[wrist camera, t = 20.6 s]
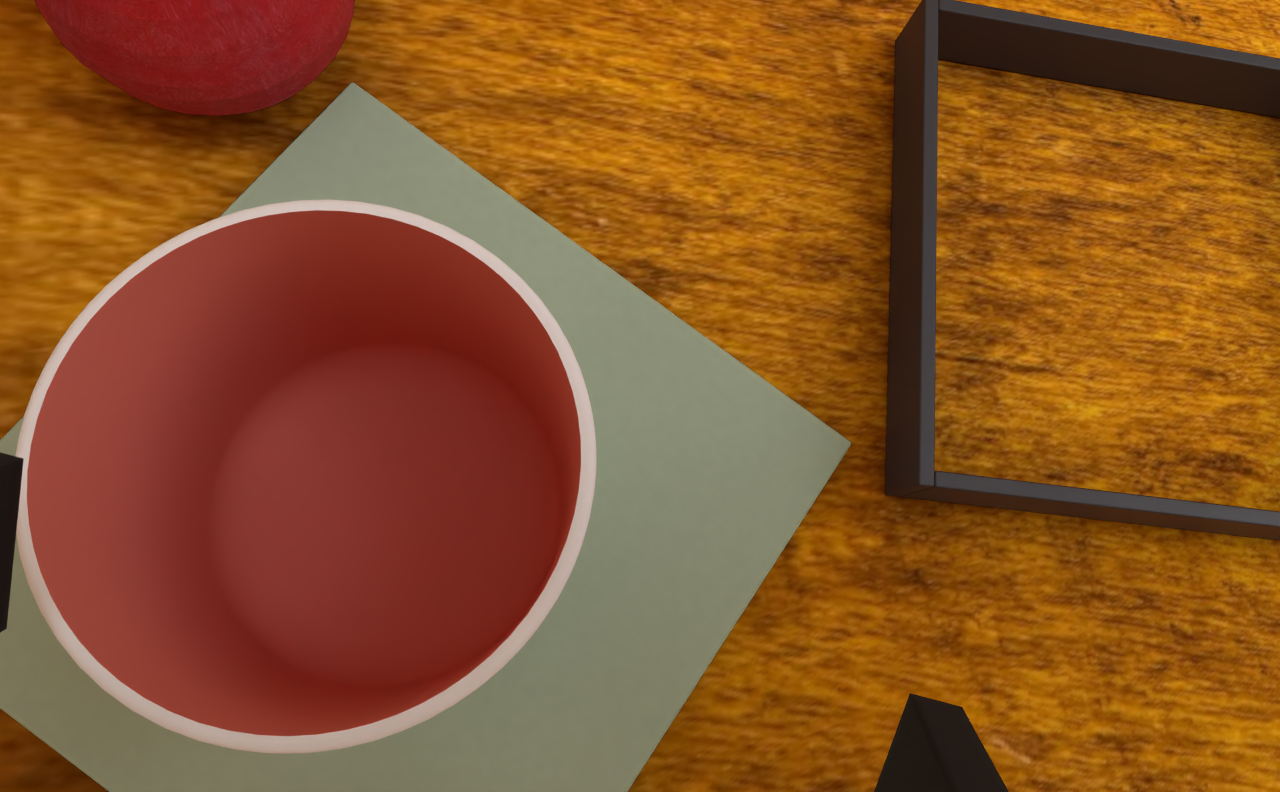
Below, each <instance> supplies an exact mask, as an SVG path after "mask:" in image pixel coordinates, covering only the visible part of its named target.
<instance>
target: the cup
mask: <svg viewBox="0 0 1280 792" xmlns="http://www.w3.org/2000/svg"><path fill="white" fill-rule="evenodd" d="M15 456H16V457H20V458H23V459H24V460H23V470H22V480H21V490H20V500H19V510H18V520H17V530H16V535H17V542H18V549H19V555H20V558H21V562H22V565H23V568H24V572H25V575H26V578H27V582H28V584H29V587H30V589H31V591H32V593H33V596H34V598H35V600H36V602H37V605H38V607H39V609H40V612H41V613H42V615H43V617H44V618H45V620H46V622H47V623H48V625H49V627H50V628H51V630H52V631H53V633H54V635H55V636H56V638H57V640H58V641H59V642H60V644H61V645H62V646H63V647H64V649H65V650H66V651H67V652H68V654H69V655H70V656H71V657H72V659H73V660H74V661H75V662H76V664H77V665H78V666H79V667H80V668H81V669H82V670H83V671H84V672H85V673H86V674H87V675H88V676H89V677H91V678H92V679H93V680H94V681H95V682H96V683H97V684H98V685H99V686H100V687H101V688H102V689H103V690H104V691H106V692H107V693H108V694H110V695H111V696H113V697H114V698H115V699H117V700H118V701H120V702H121V703H122V704H124V705H125V706H126V707H128V708H129V709H131V710H132V711H134V712H135V713H137V714H139V715H141V716H143V717H145V718H147V719H148V720H150V721H152V722H154V723H156V724H158V725H160V726H162V727H163V728H165V729H168V730H171V731H173V732H176V733H179V734H181V735H184V736H187V737H189V738H192V739H195V740H197V741H200V742H204V743H209V744H213V745H217V746H221V747H225V748H230V749H234V750H242V751H250V752H258V753H270V754H296V753H313V752H322V751H329V750H337V749H343V748H348V747H352V746H356V745H360V744H364V743H368V742H372V741H376V740H379V739H382V738H384V737H387V736H390V735H393V734H396V733H399V732H401V731H404V730H406V729H409V728H411V727H413V726H415V725H417V724H419V723H422V722H424V721H426V720H428V719H430V718H432V717H434V716H436V715H437V714H439V713H441V712H443V711H444V710H446V709H448V708H450V707H451V706H453V705H455V704H456V703H458V702H459V701H461V700H462V699H464V698H465V697H467V696H468V695H469V694H471V693H472V692H474V691H475V690H476V689H478V688H479V687H480V686H482V685H483V684H484V683H485V682H486V681H488V680H489V679H490V678H491V677H492V676H493V675H495V674H496V673H497V672H498V671H499V670H501V669H502V668H503V667H504V666H505V665H506V664H507V663H508V662H509V661H510V660H511V659H512V658H513V657H514V655H515V654H516V653H517V652H518V651H519V650H520V649H521V648H522V647H523V646H524V645H525V644H526V642H527V641H528V640H529V639H530V638H531V636H532V635H533V634H534V633H535V631H536V630H537V629H538V628H539V626H540V625H541V624H542V622H543V621H544V619H545V618H546V616H547V615H548V613H549V612H550V610H551V609H552V607H553V606H554V604H555V602H556V601H557V599H558V597H559V596H560V594H561V592H562V590H563V588H564V586H565V584H566V582H567V580H568V578H569V576H570V574H571V572H572V570H573V567H574V565H575V563H576V560H577V557H578V555H579V552H580V550H581V547H582V544H583V541H584V537H585V534H586V530H587V526H588V523H589V519H590V514H591V509H592V503H593V498H594V491H595V480H596V436H595V427H594V420H593V413H592V408H591V404H590V399H589V395H588V391H587V388H586V385H585V382H584V379H583V376H582V372H581V369H580V367H579V365H578V362H577V360H576V358H575V355H574V353H573V351H572V348H571V346H570V344H569V342H568V341H567V339H566V337H565V335H564V333H563V332H562V330H561V328H560V326H559V325H558V323H557V321H556V320H555V318H554V317H553V316H552V314H551V313H550V311H549V310H548V309H547V307H546V306H545V305H544V303H543V302H542V301H541V299H540V298H539V297H538V296H537V295H536V294H535V292H534V291H533V290H532V289H531V288H530V287H529V286H528V285H527V284H526V283H525V281H524V280H523V279H522V278H521V277H520V276H519V275H517V274H516V273H515V272H514V271H513V270H512V269H511V268H509V267H508V266H507V265H506V264H505V263H504V262H503V261H501V260H500V259H499V258H498V257H496V256H495V255H494V254H492V253H491V252H489V251H488V250H486V249H485V248H483V247H482V246H481V245H479V244H478V243H476V242H475V241H473V240H471V239H469V238H468V237H466V236H464V235H462V234H460V233H458V232H457V231H455V230H453V229H451V228H449V227H447V226H445V225H442V224H440V223H437V222H435V221H432V220H430V219H427V218H425V217H423V216H420V215H417V214H413V213H410V212H406V211H403V210H399V209H396V208H392V207H388V206H382V205H376V204H371V203H365V202H359V201H344V200H298V201H291V202H283V203H275V204H268V205H264V206H259V207H255V208H250V209H246V210H241V211H238V212H235V213H232V214H229V215H226V216H222V217H219V218H216V219H213V220H211V221H209V222H206V223H204V224H202V225H199V226H197V227H194V228H192V229H190V230H187V231H185V232H183V233H181V234H180V235H178V236H176V237H174V238H172V239H170V240H168V241H166V242H165V243H163V244H161V245H160V246H158V247H157V248H155V249H153V250H152V251H150V252H148V253H147V254H145V255H144V256H143V257H141V258H140V259H138V260H137V261H136V262H134V263H133V264H132V265H130V266H129V267H128V268H126V269H125V270H124V271H123V272H121V273H120V274H119V275H118V276H117V277H116V278H115V279H113V280H112V281H111V282H110V283H109V284H108V285H106V286H105V287H104V288H103V289H102V291H101V292H100V293H99V294H98V295H97V296H96V297H95V298H94V299H93V300H92V301H91V302H90V303H89V304H88V305H87V306H86V307H85V308H84V310H83V311H82V312H81V313H80V314H79V316H78V317H77V318H76V319H75V320H74V322H73V323H72V324H71V326H70V327H69V328H68V330H67V331H66V333H65V334H64V336H63V337H62V338H61V340H60V341H59V343H58V344H57V346H56V348H55V349H54V351H53V353H52V354H51V356H50V358H49V360H48V361H47V363H46V365H45V367H44V369H43V371H42V373H41V375H40V377H39V379H38V381H37V384H36V386H35V388H34V390H33V393H32V396H31V398H30V401H29V404H28V406H27V409H26V412H25V415H24V419H23V423H22V426H21V430H20V434H19V438H18V444H17V449H16V455H15Z"/></svg>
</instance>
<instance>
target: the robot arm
mask: <svg viewBox="0 0 1280 792" xmlns="http://www.w3.org/2000/svg"><path fill="white" fill-rule="evenodd" d="M23 460H24V459H23V458H20V457H16V456H12V455H8V454H5V453H1V452H0V633H1V632H2V631H4V630H6V629H7V620H8V610H9V600H10V590H11V580H12V570H13V560H14V550H15V540H16V530H17V520H18V510H19V500H20V490H21V480H22V470H23ZM874 792H1008V790H1007V788H1006V786H1005V784H1004V783H1003V781H1002V779H1001V777H1000V775H999V773H998V772H997V770H996V768H995V766H994V764H993V763H992V761H991V759H990V757H989V755H988V753H987V752H986V750H985V748H984V746H983V744H982V743H981V741H980V739H979V737H978V735H977V733H976V732H975V730H974V728H973V726H972V724H971V722H970V721H969V719H968V717H967V715H966V713H965V712H964V710H963V708H962V707H960V706H956V705H952V704H948V703H945V702H941V701H937V700H933V699H930V698H926V697H922V696H918V695H914V694H911V693H910V695H909V698H908V700H907V703H906V706H905V709H904V711H903V714H902V717H901V720H900V722H899V725H898V728H897V731H896V733H895V736H894V739H893V742H892V744H891V747H890V750H889V753H888V755H887V758H886V761H885V764H884V766H883V769H882V772H881V775H880V777H879V780H878V783H877V786H876V788H875V791H874Z"/></svg>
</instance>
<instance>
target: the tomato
mask: <svg viewBox="0 0 1280 792" xmlns="http://www.w3.org/2000/svg"><path fill="white" fill-rule="evenodd" d="M34 1H35V3H36V6H37V7H38V9H39V10H40V12H41V14H42V15H43V17H44V18H45V20H46V21H47V23H48V24H49V26H50V27H51V29H52V30H53V32H54V33H55V35H56V36H57V37H58V39H59V40H60V42H61V43H62V44H63V45H64V46H65V47H66V48H67V49H68V50H69V51H70V52H71V53H72V54H73V55H74V56H75V57H76V58H77V59H78V60H79V61H80V62H81V63H82V64H83V65H84V66H86V67H87V68H89V69H91V70H92V71H94V72H95V73H97V74H98V75H100V76H101V77H103V78H105V79H106V80H108V81H109V82H111V83H112V84H114V85H115V86H117V87H119V88H120V89H122V90H123V91H125V92H126V93H128V94H129V95H131V96H133V97H134V98H136V99H139V100H141V101H144V102H146V103H149V104H151V105H154V106H156V107H158V108H161V109H166V110H171V111H175V112H180V113H185V114H192V115H216V116H219V115H233V114H242V113H250V112H254V111H258V110H261V109H264V108H268V107H271V106H274V105H276V104H278V103H280V102H282V101H284V100H286V99H288V98H290V97H292V96H294V95H295V94H296V93H298V92H299V91H300V90H302V89H303V88H304V87H306V86H307V85H308V84H310V83H311V82H312V81H313V80H314V79H315V78H317V77H318V76H319V75H320V74H321V73H322V71H323V70H324V69H325V68H326V67H327V66H328V65H329V63H330V62H331V61H332V60H333V59H334V58H335V56H336V55H337V53H338V51H339V49H340V48H341V46H342V44H343V42H344V40H345V39H346V37H347V34H348V30H349V27H350V24H351V20H352V17H353V12H354V2H355V0H34Z"/></svg>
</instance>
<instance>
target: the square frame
mask: <svg viewBox="0 0 1280 792" xmlns="http://www.w3.org/2000/svg"><path fill="white" fill-rule="evenodd" d="M938 59H942V60H948V61H953V62H959V63H965V64H971V65H977V66H982V67H988V68H994V69H1000V70H1006V71H1012V72H1017V73H1023V74H1029V75H1035V76H1041V77H1047V78H1052V79H1058V80H1064V81H1070V82H1076V83H1081V84H1087V85H1093V86H1099V87H1105V88H1111V89H1116V90H1122V91H1128V92H1134V93H1140V94H1146V95H1151V96H1157V97H1163V98H1169V99H1175V100H1181V101H1186V102H1192V103H1198V104H1204V105H1210V106H1215V107H1221V108H1227V109H1233V110H1239V111H1245V112H1250V113H1256V114H1262V115H1268V116H1274V117H1280V59H1278V58H1273V57H1267V56H1262V55H1256V54H1250V53H1245V52H1239V51H1234V50H1228V49H1223V48H1217V47H1211V46H1206V45H1200V44H1195V43H1189V42H1184V41H1178V40H1172V39H1167V38H1161V37H1156V36H1150V35H1145V34H1139V33H1134V32H1128V31H1122V30H1117V29H1111V28H1106V27H1100V26H1095V25H1089V24H1083V23H1078V22H1072V21H1067V20H1061V19H1056V18H1050V17H1044V16H1039V15H1033V14H1028V13H1022V12H1017V11H1011V10H1005V9H1000V8H994V7H989V6H983V5H978V4H972V3H966V2H961V1H955V0H922V1H921V3H920V4H919V6H918V7H917V9H916V10H915V12H914V13H913V15H912V16H911V18H910V20H909V21H908V23H907V24H906V26H905V27H904V29H903V30H902V32H901V33H900V35H899V36H898V38H897V39H896V41H895V85H894V128H893V172H892V215H891V259H890V303H889V346H888V390H887V433H886V477H885V495H888V496H896V497H899V496H901V497H905V498H914V499H922V500H931V501H940V502H949V503H957V504H966V505H975V506H983V507H992V508H1001V509H1009V510H1018V511H1027V512H1035V513H1044V514H1053V515H1062V516H1070V517H1079V518H1088V519H1096V520H1105V521H1114V522H1122V523H1131V524H1140V525H1148V526H1157V527H1166V528H1175V529H1183V530H1192V531H1201V532H1209V533H1218V534H1227V535H1235V536H1244V537H1253V538H1261V539H1270V540H1279V541H1280V512H1278V511H1270V510H1261V509H1253V508H1244V507H1236V506H1228V505H1219V504H1211V503H1202V502H1194V501H1186V500H1177V499H1169V498H1160V497H1152V496H1143V495H1135V494H1127V493H1118V492H1110V491H1101V490H1093V489H1085V488H1076V487H1068V486H1059V485H1051V484H1043V483H1034V482H1026V481H1017V480H1009V479H1001V478H992V477H984V476H975V475H967V474H958V473H950V472H942V471H934V446H935V332H936V217H937V102H938Z"/></svg>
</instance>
